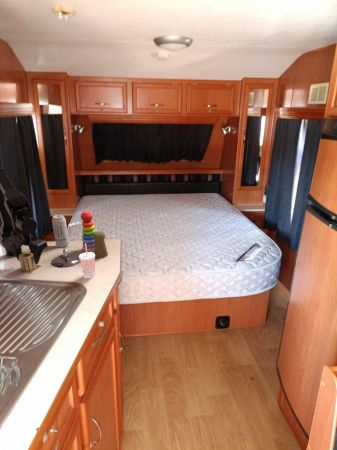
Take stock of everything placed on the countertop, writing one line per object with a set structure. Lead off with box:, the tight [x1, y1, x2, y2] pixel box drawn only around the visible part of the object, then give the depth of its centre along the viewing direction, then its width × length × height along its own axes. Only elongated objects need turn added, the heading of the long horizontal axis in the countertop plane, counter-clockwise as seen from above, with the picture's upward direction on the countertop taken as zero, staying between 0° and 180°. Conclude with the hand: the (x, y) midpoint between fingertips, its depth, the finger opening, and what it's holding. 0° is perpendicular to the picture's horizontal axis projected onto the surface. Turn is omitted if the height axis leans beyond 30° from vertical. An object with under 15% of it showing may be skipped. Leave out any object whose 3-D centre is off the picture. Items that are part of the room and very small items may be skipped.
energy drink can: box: [51, 214, 70, 249], centre depth 154 cm, size 6×6×15 cm
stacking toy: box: [80, 210, 97, 253], centre depth 149 cm, size 8×8×19 cm
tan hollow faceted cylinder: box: [18, 251, 38, 273], centre depth 133 cm, size 6×6×6 cm
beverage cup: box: [78, 243, 96, 279], centre depth 127 cm, size 6×6×14 cm
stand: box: [16, 264, 42, 275], centre depth 134 cm, size 7×7×4 cm
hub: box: [50, 248, 81, 269], centre depth 140 cm, size 13×13×6 cm
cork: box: [93, 231, 109, 259], centre depth 144 cm, size 6×6×11 cm
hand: (28, 262), depth 134 cm, fingers open, 9 cm apart
